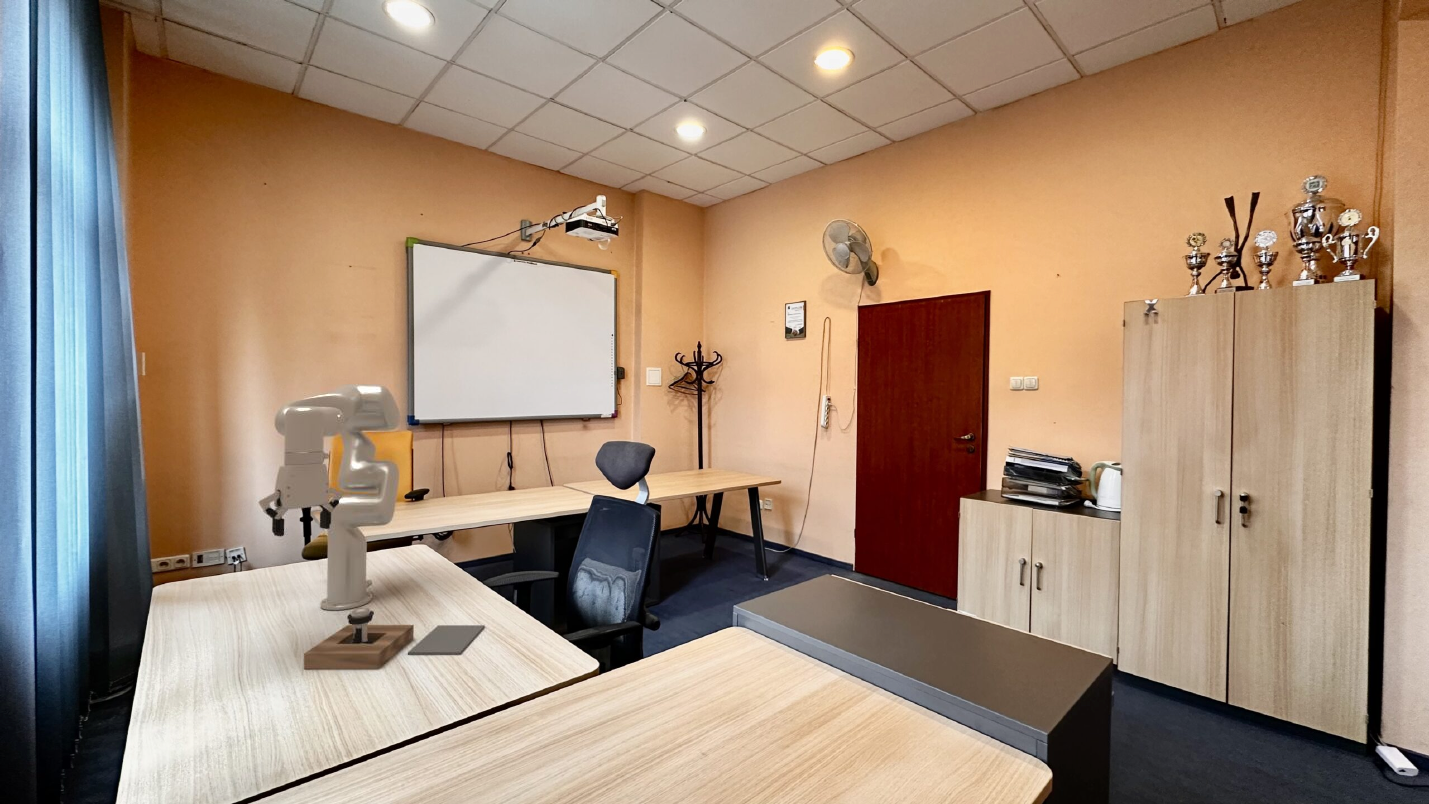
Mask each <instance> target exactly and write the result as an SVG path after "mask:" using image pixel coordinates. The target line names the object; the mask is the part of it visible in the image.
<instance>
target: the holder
mask: <svg viewBox="0 0 1429 804" xmlns="http://www.w3.org/2000/svg"><path fill="white" fill-rule="evenodd" d="M414 631H415V627H414V624H367V635H368V640H369V641H372V644H350V642H351V641H353V637H354V625H352V624H346V625H345V626H344V627H342V628H341V629H339V630H338V631H336V632H335V633H333V634H331V635H330V636H329V637H327V638H326V639H324V640H323V641H321V642H319V643H317V645H315V646H313V647H312V648H310V649H309V650H307V651H306V652H304V653H303V654H304V655H303V670H380V668H381V667H383V666H384V665H385V664H386V663H387V662H388V661H389V660H391V659H392V658H393V657H394V656H395V655H397V654H398V653H399V652H400V651H402V649H403V648H404V647H406V646H407V645H408V644H410V643H411V642H412V641H414V637H415V636H414V633H415V632H414Z"/></svg>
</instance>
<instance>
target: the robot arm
mask: <svg viewBox="0 0 1429 804" xmlns="http://www.w3.org/2000/svg"><path fill="white" fill-rule="evenodd" d="M400 413H401V412H400V409H399V407H398V404H397V402H396V400H395V398H394V396H393V394H392V393H391V391H390V390H389V389H388V388H387V387H386V386H384V385H382V384H364V383H362V384H359V383H353V384H352V383H351V384H350V383H349V384H344V385H341V386H339V387H337V388H336V389H334V390H333V391H331V392H330V393H327V394H319V395H315V396H312V397H311V396H310V397H305V398H301V399H296V400H293V401H290V402H288V403H286V404H285V405H283V406H281V408H279V410H277V412H276V414H275V417H274V427H275V430H276V431H277V433H279V434H280V436H284V455H283V459H284V460H283V465H279V469H278V471H277V476H276V479H275V480H276V481H275V486H274V492H273V493H271V494H269V495H268V496H266V497H264V498H261V500H260V499H259V501H258V504H259V505H260V507H261V509H262V511H263V513H264V514H266V515H267V516H268V517H269V518H270V519H271V521H272V522H271V523H272V524H271V525H272V526H271V528H272V529H271V531H272V533H273V535H274V536H276V537H280V538H281V537H283V536H285V518H283V516H284V515H285V514H286V513H287V512H288V511H289V510H297V509H305V508H307V509H308V508H314V507H319V508H320V509H321V510H322V511H320V512H319V528H321V529H324V530H326V532H327V571H326V572H327V573H326V574H327V581H326V582H327V584H326V585H327V587H326V589H327V590H326V592H327V593H326V598H323V600H321V602H320V608H322V609H323V610H326V611H341V610H350V609H353V608H355V609H356V608H358V607H361V606H363V605H366V604H368V603H370V602H371V601H372V600H373V595H372V593H370V592H367V589H368V588H369V587H371V586H372V585H373V581H372V580H371V579H367V547H368V543H367V539H366V536H365V534H364V533H363V531H361V530H360V528H361V527H362V528H363V527H381V526H386V525H388V524H390V523H391V522H392V520H393V519H394V515H395V514H394V513H395V509H396V503H397V502H396V501H397V496H398V491H399V490H398V489H399V483H400V470H399V466H398V465H397V463H396V462H395V461H392V460H386V459H385V460H384V459H381V460H379V459H377V460H376V459H375V458H376V453H377V448H376V447H377V446H376V445H375V443H374V442H373V440H371V438H370V437H369V436H367V434H365V433H364V432H365V431H368V432H371V431H372V432H379V431H380V432H386V431H387V432H390V431H393V430H396V429H397V428H398V426H399V425H400V423H401V414H400ZM337 435H340V438H341V440H342V445H343V451H342V457H341V462H340V466H339V471H338V476H337V486H338V489H339V490H337V489H335V488H332V487H330V477H329V472H328V467H327V464H325V463H324V462H325V460H328V459H329V457H330V453H328V452H327V453H326V452H325V451H324V439H325V438H326V437H328V438H329V437H335V436H337ZM340 490H341V491H340ZM344 492H346V493H344ZM331 495H333V496H332V497H330V496H331ZM272 502H273V505H274V507H275V508H274V509H273V508H272V506H271V503H272Z"/></svg>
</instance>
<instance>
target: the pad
mask: <svg viewBox="0 0 1429 804" xmlns="http://www.w3.org/2000/svg"><path fill="white" fill-rule="evenodd" d="M485 628H486V626H485V624H482V625H480V624H477V625H476V624H475V625H471V624H470V625H469V624H468V625H467V624H466V625H465V624H464V625H463V624H456V625H455V624H454V625H453V624H450V625H449V624H448V625H446V624H445V625H443V624H441V625H439V624H438V625H437V626H436V627H435V628H433V629H432V630H431V631H430V632H429V633H428V634H427V635H426V636H424V637H423V638H422V639H421V640H420V641H419V642H418V643H416V645H414V646H413V647H412V648H411V649H410V650H409V651H408V652H407V656H443V655H444V656H458V655H459V656H460V655H461V654H462V653H463V652H465V650H466V649H467V647H469V645H471V643H472V642H473V641H474V640H475V639H476V638H477V637H478V636H479V635H480V634H481V632H483V630H485Z"/></svg>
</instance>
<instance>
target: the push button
mask: <svg viewBox="0 0 1429 804" xmlns="http://www.w3.org/2000/svg"><path fill="white" fill-rule="evenodd" d="M374 614H375V612H374V610H371V609H370V608H369V607H365V606H364V607H359V608H358V607H357V608H355V609H352V611H351V613H349V614H348V615H347V616H346V618H347V620H348V625H354V637H353V641H351V642H350V644H372V641H369V640H368V635H367V625H369V623H370V622H371V621H372V620H373V617H374Z"/></svg>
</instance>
